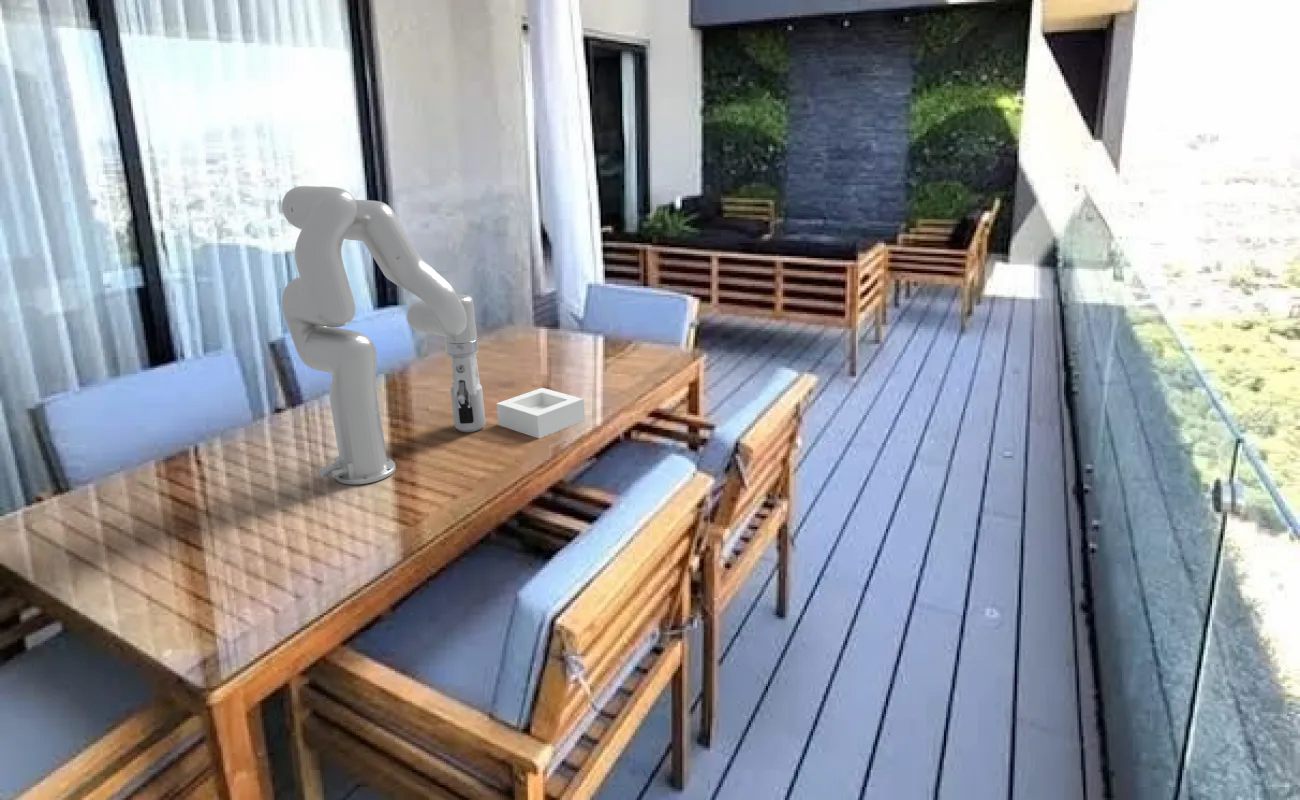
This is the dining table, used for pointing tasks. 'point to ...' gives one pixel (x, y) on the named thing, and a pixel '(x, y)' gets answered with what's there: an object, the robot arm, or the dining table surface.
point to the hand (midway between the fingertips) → (469, 416)
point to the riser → (540, 412)
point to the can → (476, 406)
